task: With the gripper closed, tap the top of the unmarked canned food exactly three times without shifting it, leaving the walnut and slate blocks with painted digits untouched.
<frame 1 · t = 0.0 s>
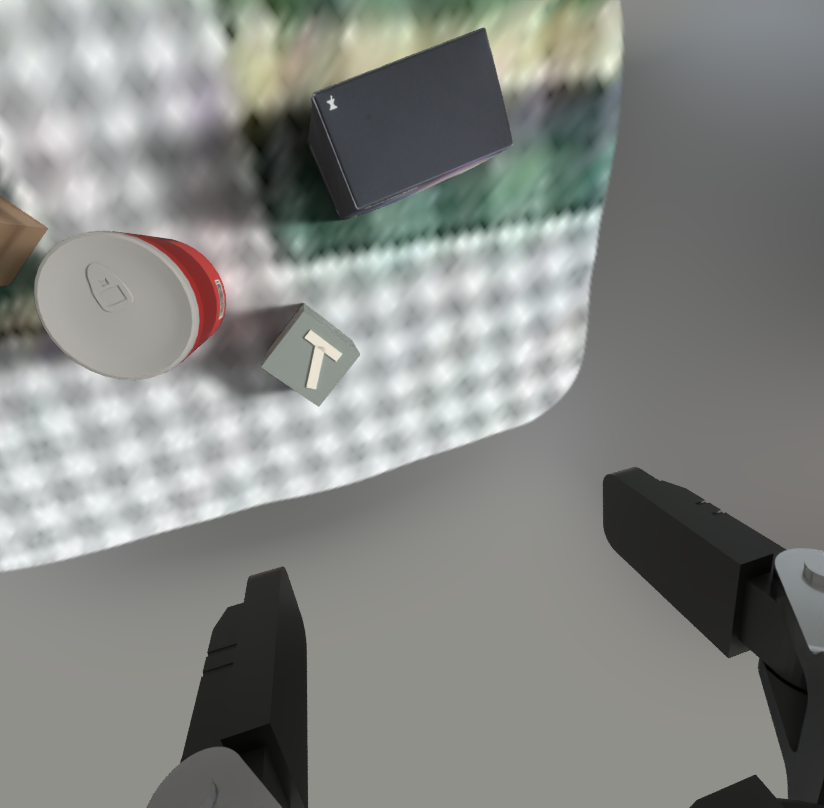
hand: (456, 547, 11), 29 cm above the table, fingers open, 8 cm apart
small box: (385, 159, 34), on the table
canned food: (174, 293, 34), on the table
slate digit block: (310, 345, 37), on the table
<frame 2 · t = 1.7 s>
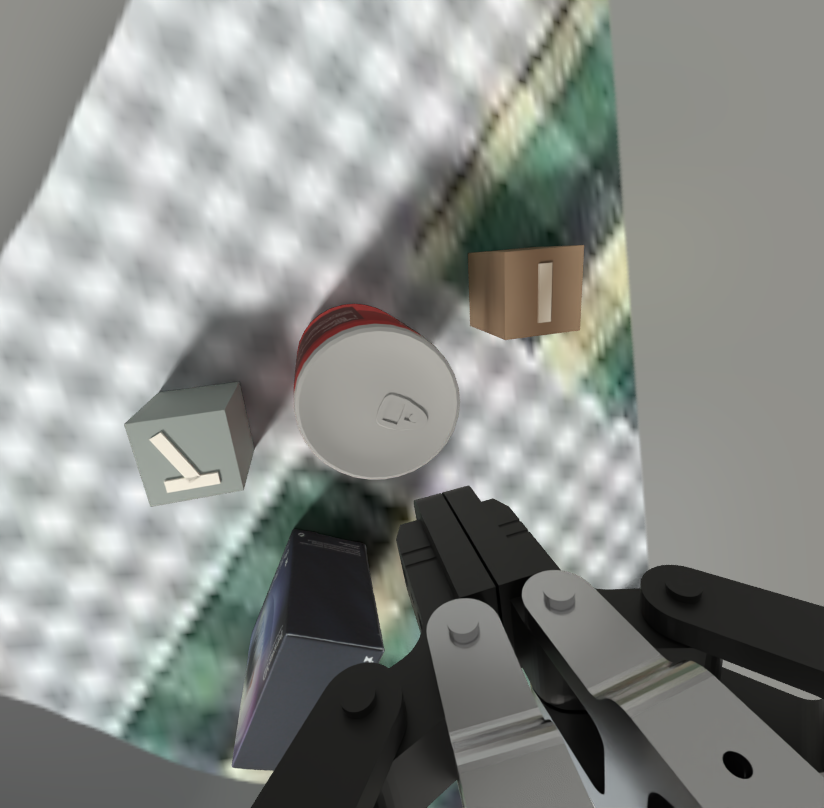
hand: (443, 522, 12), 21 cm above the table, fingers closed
small box: (307, 586, 36), on the table
canned food: (355, 357, 31), on the table
walnut digit block: (501, 286, 32), on the table
slate digit block: (208, 421, 30), on the table
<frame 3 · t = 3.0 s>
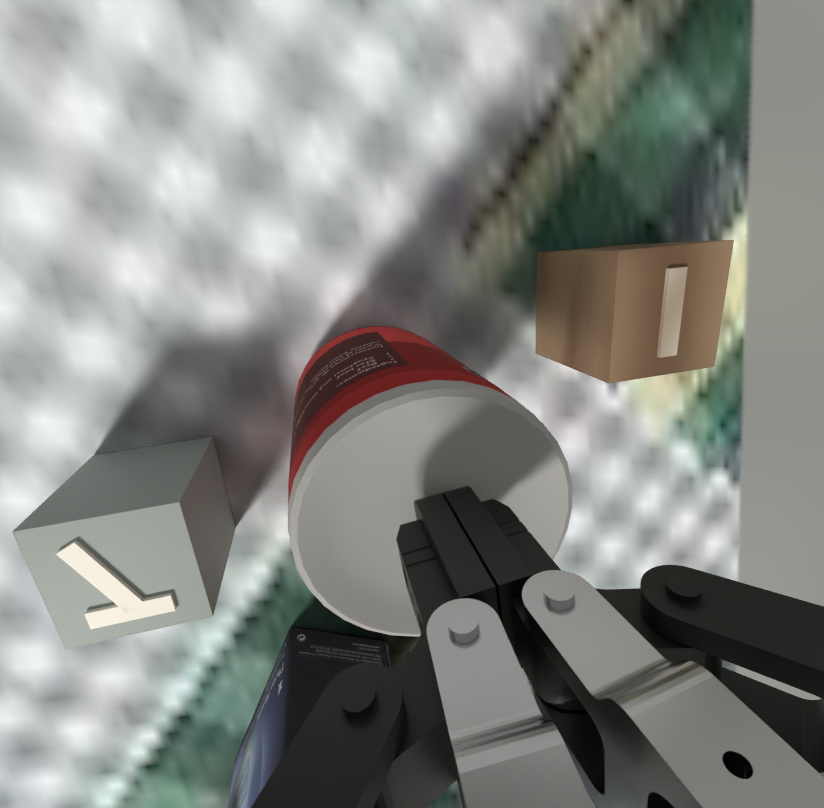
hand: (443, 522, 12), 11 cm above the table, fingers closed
small box: (308, 695, 27), on the table
canned food: (377, 399, 22), on the table, touching gripper
walnut digit block: (580, 299, 23), on the table
slate digit block: (169, 492, 21), on the table
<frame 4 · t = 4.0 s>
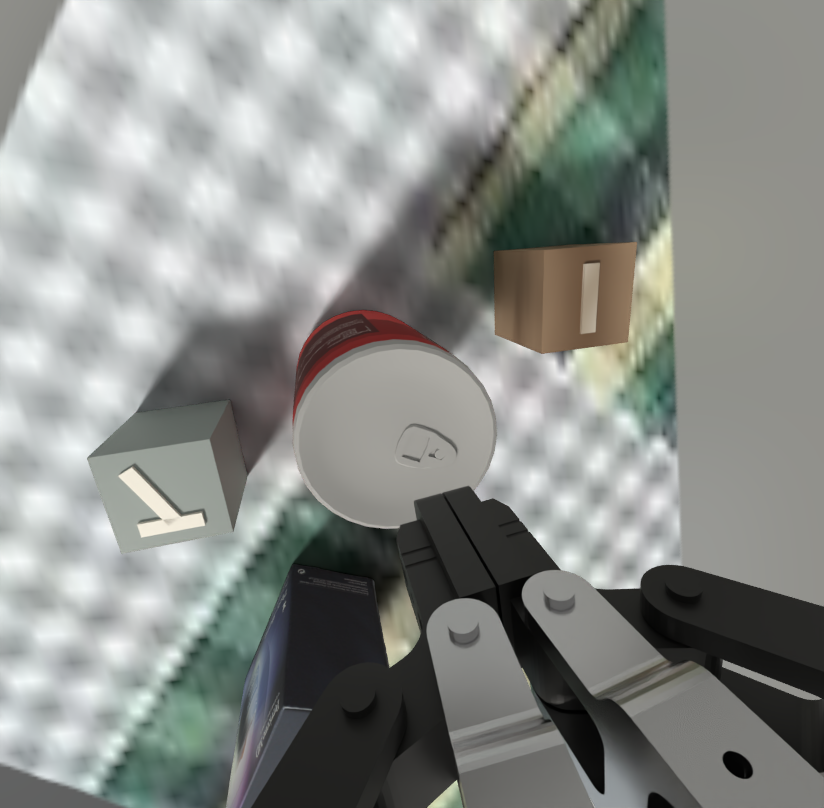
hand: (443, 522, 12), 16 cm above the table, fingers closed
small box: (307, 625, 32), on the table
canned food: (363, 371, 27), on the table
walnut digit block: (531, 290, 28), on the table
slate digit block: (194, 445, 26), on the table
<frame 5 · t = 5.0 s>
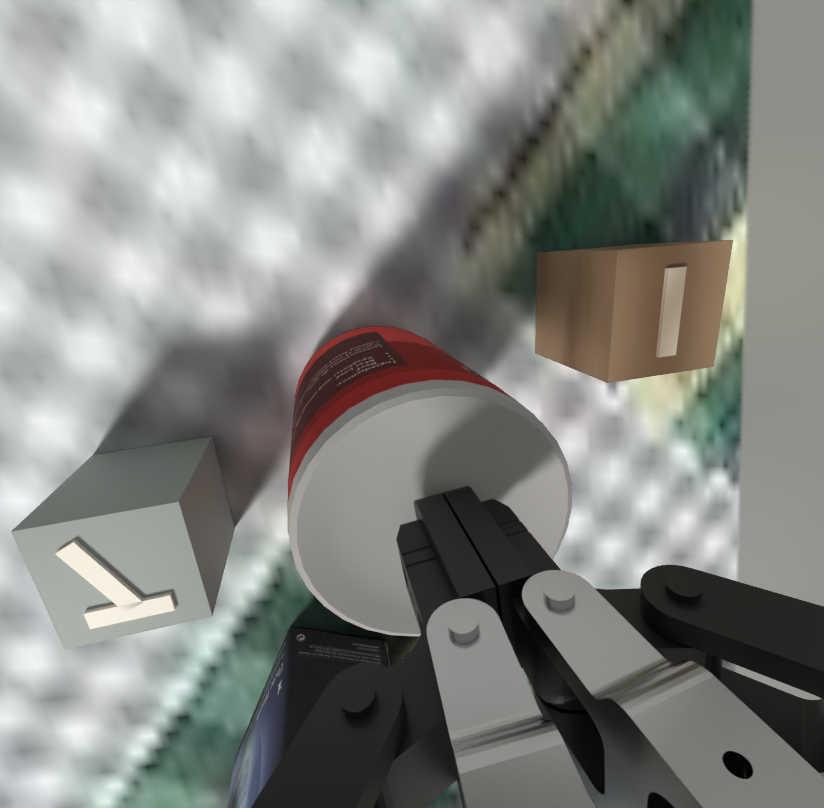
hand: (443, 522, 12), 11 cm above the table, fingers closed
small box: (308, 695, 27), on the table
canned food: (376, 399, 22), on the table, touching gripper
walnut digit block: (580, 299, 23), on the table
slate digit block: (168, 492, 21), on the table
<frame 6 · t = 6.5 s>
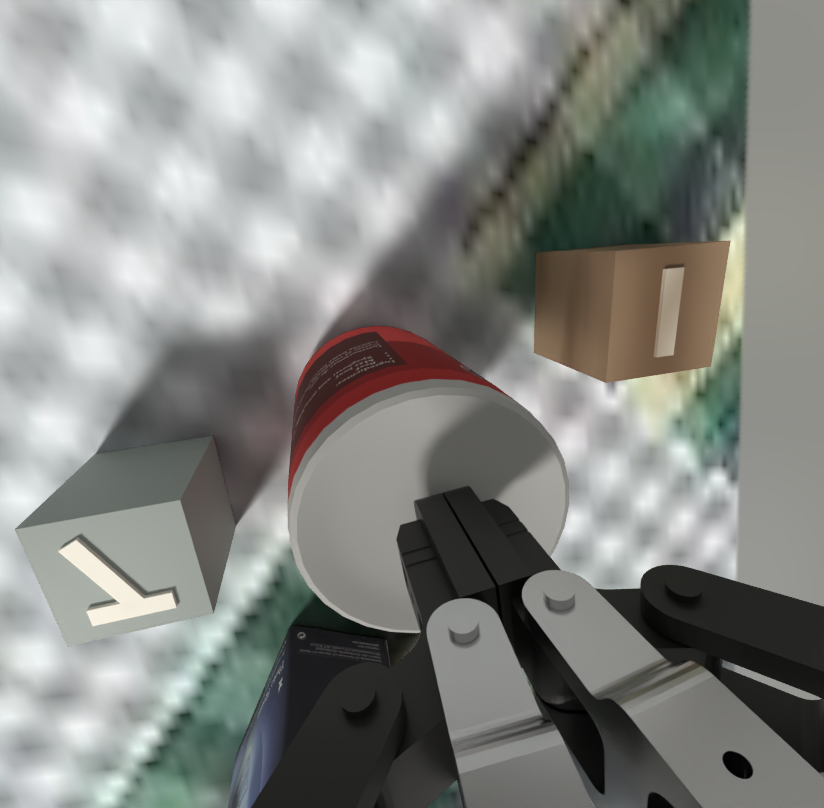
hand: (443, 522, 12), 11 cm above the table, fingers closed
small box: (308, 693, 27), on the table
canned food: (376, 398, 22), on the table
walnut digit block: (578, 299, 23), on the table
slate digit block: (170, 491, 21), on the table
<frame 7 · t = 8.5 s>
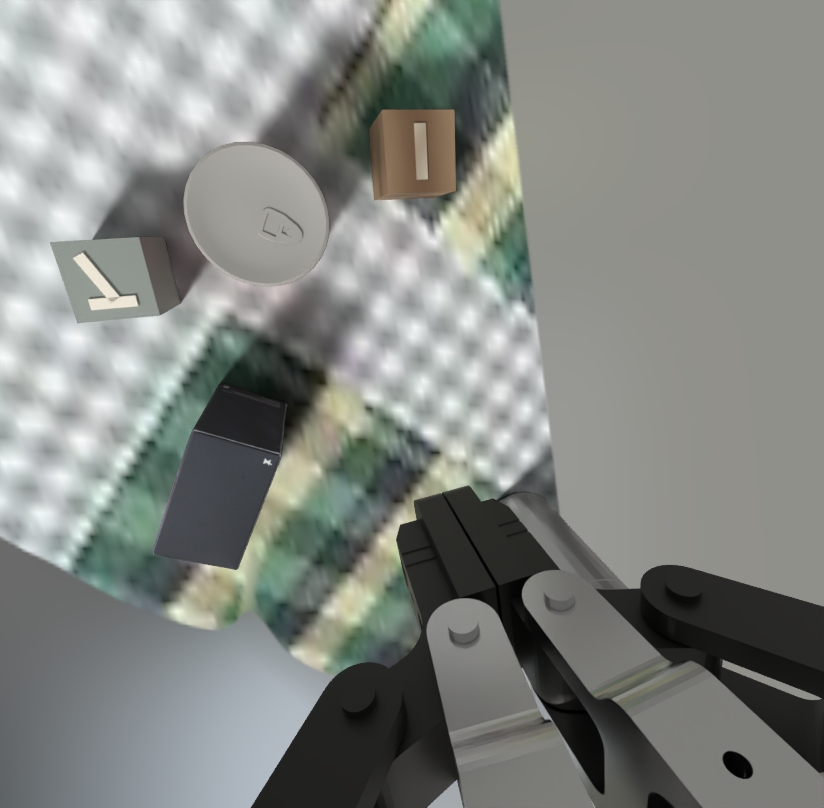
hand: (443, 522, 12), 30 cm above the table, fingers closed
small box: (235, 441, 41), on the table
canned food: (269, 223, 35), on the table
walnut digit block: (401, 165, 36), on the table
slate digit block: (137, 273, 34), on the table
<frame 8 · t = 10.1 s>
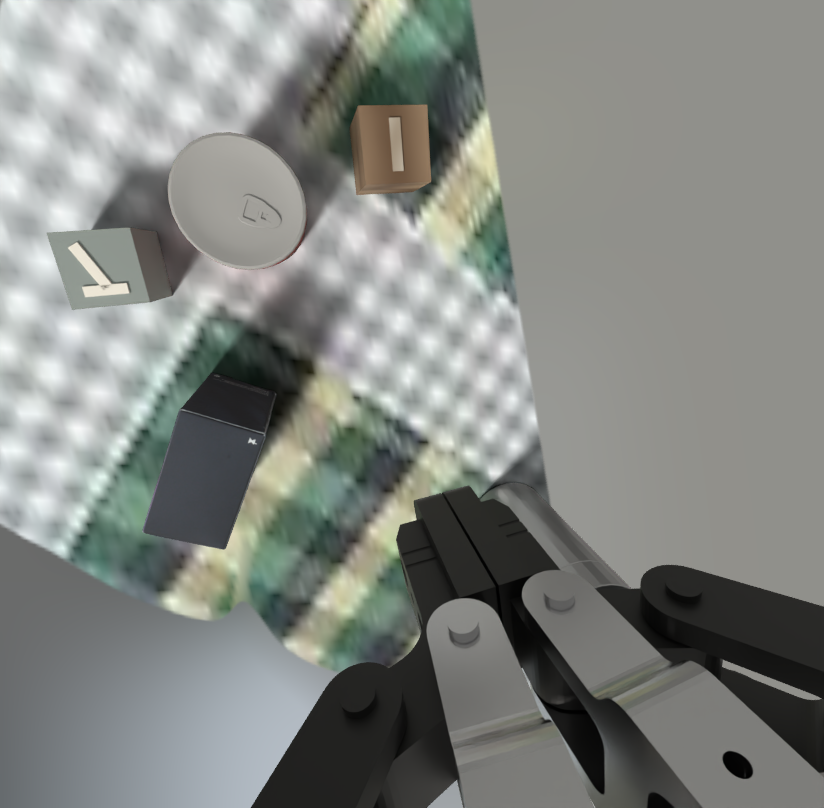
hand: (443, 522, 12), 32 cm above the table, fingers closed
small box: (227, 430, 42), on the table
canned food: (257, 218, 37), on the table
walnut digit block: (382, 161, 38), on the table
slate digit block: (131, 266, 36), on the table
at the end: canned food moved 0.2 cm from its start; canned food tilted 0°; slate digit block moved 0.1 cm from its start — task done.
